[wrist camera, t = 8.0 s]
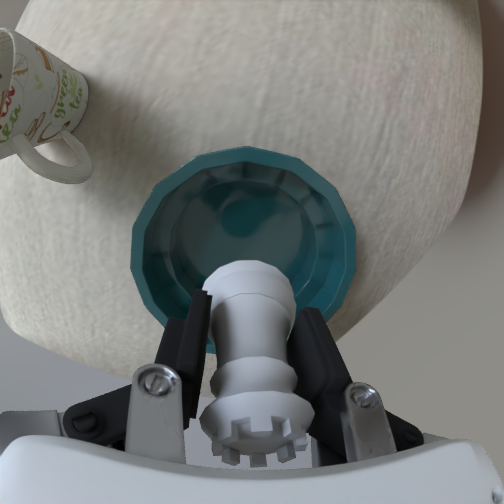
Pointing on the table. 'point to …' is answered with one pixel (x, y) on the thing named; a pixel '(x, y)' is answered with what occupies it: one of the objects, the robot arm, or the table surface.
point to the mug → (40, 107)
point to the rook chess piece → (253, 366)
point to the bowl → (242, 230)
